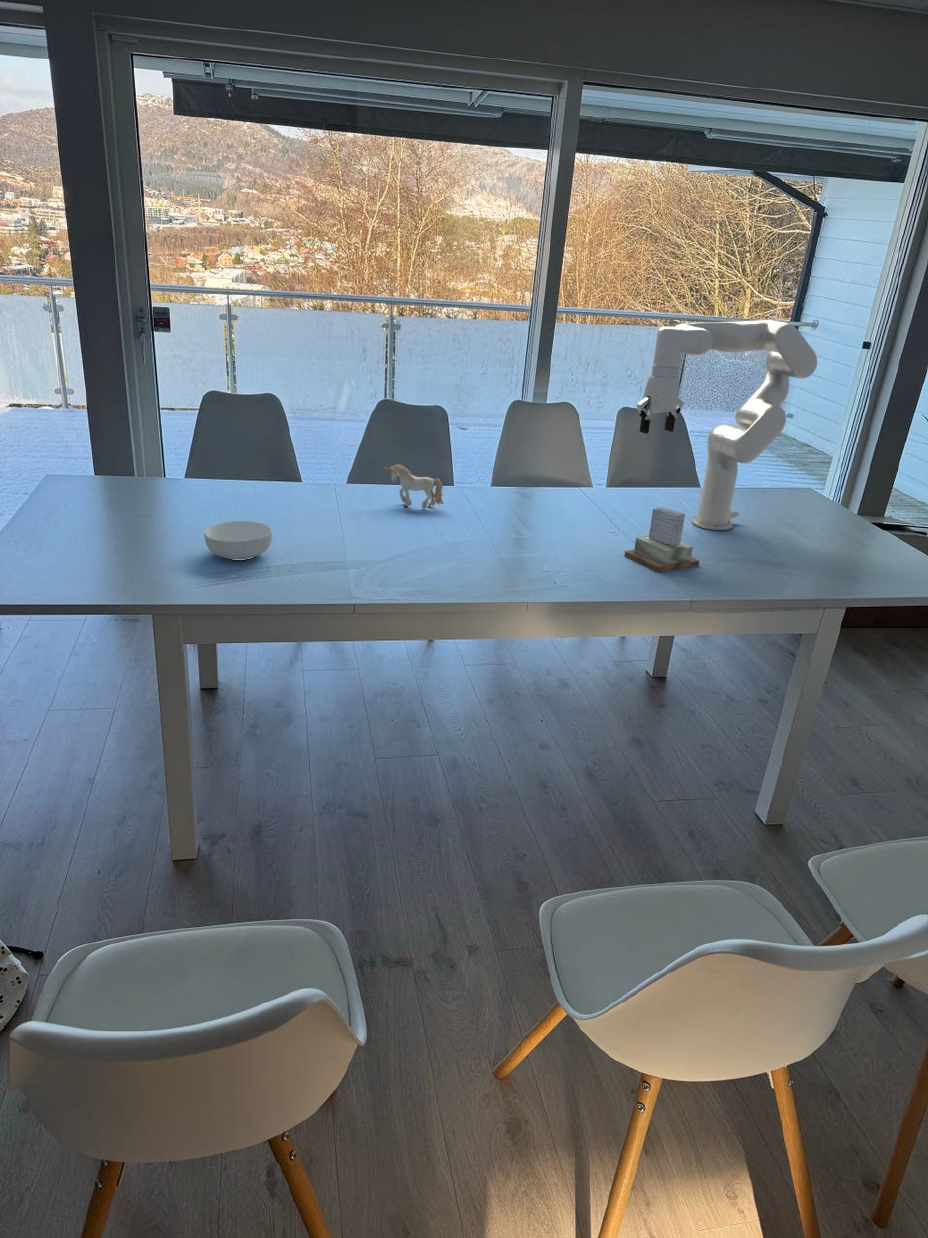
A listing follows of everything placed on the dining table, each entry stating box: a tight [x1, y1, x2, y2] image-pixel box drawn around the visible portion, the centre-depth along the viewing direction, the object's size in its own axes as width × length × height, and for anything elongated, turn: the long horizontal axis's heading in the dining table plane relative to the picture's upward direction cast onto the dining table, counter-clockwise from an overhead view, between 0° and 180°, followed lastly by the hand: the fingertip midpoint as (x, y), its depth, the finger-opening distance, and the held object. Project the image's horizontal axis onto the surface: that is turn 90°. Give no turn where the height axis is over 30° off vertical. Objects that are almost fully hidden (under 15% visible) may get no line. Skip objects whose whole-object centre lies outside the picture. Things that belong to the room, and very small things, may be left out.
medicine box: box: [648, 506, 686, 546], centre depth 244 cm, size 8×4×9 cm, turn 43°
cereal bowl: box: [203, 520, 273, 559], centre depth 229 cm, size 17×17×7 cm
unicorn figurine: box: [383, 463, 445, 509], centre depth 277 cm, size 7×20×13 cm, turn 100°
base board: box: [624, 535, 700, 574], centre depth 246 cm, size 15×14×6 cm
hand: (656, 431), depth 260 cm, fingers open, 9 cm apart
